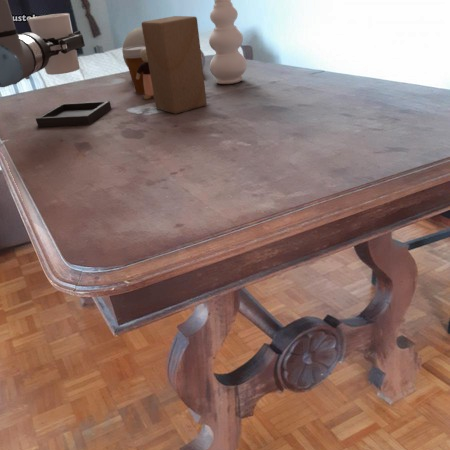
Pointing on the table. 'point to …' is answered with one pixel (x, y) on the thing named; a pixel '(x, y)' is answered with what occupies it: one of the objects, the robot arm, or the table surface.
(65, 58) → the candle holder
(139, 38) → the decorative sphere
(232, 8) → the vase
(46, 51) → the robot arm
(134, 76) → the disposable coffee cup
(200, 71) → the wooden block
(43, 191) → the table surface
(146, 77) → the grandmother figurine
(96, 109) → the black tray
